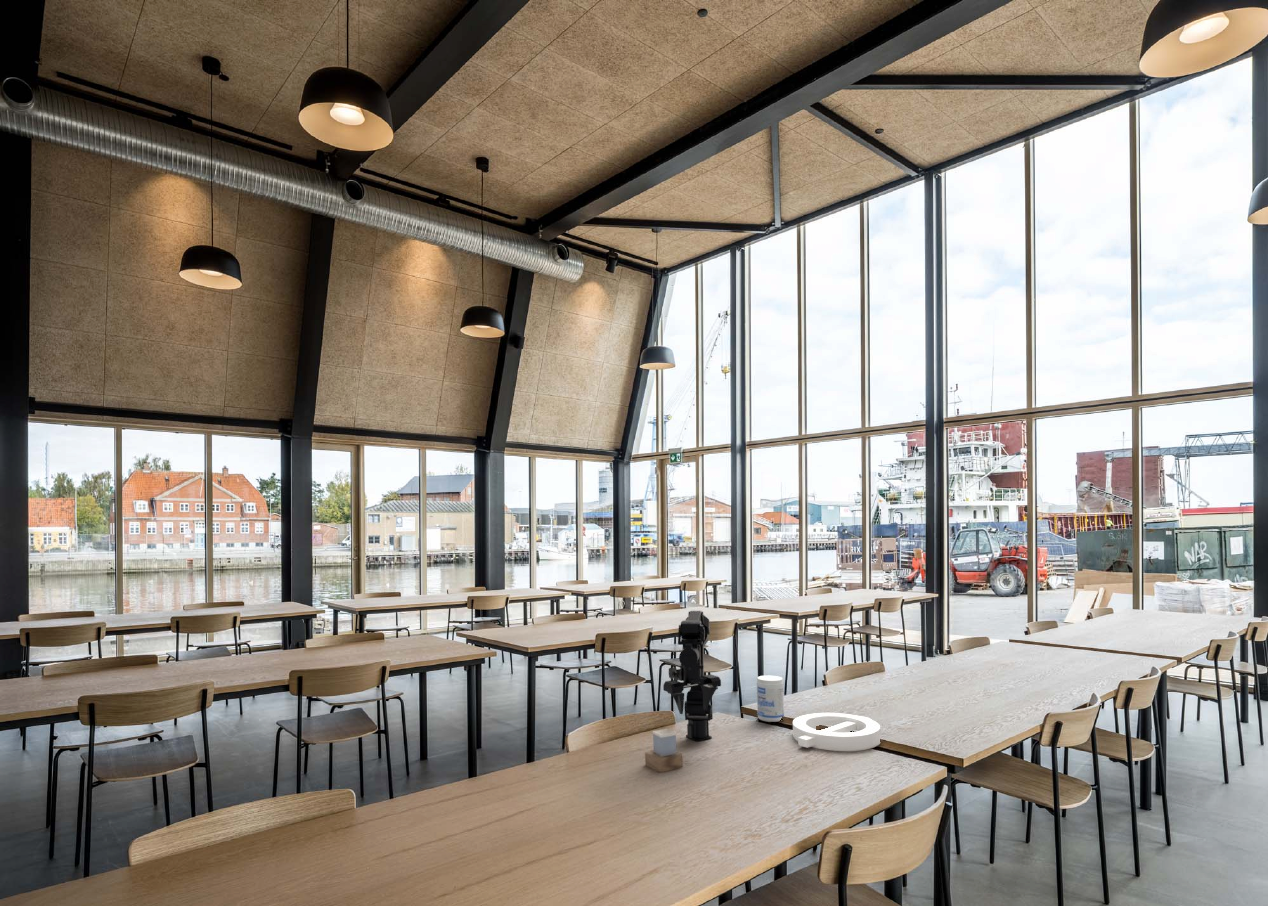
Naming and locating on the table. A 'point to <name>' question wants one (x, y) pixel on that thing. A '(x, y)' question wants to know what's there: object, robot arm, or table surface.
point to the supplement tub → (770, 698)
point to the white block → (664, 742)
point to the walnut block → (663, 761)
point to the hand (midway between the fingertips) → (693, 711)
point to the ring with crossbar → (836, 732)
